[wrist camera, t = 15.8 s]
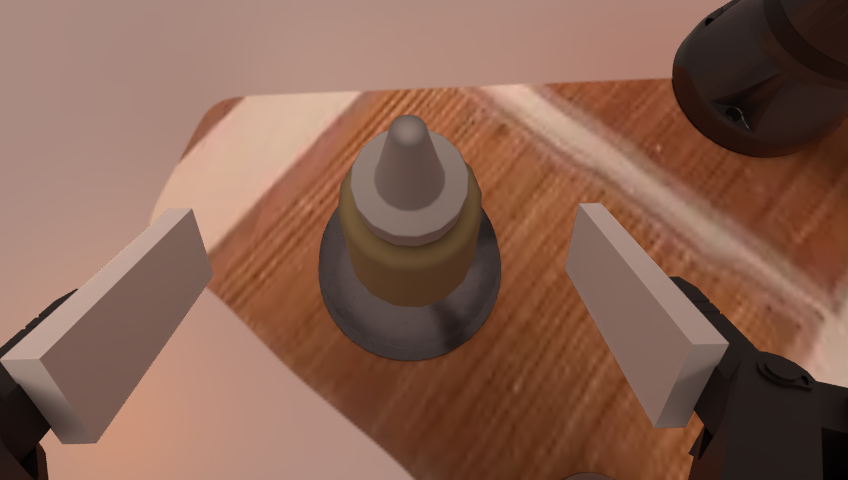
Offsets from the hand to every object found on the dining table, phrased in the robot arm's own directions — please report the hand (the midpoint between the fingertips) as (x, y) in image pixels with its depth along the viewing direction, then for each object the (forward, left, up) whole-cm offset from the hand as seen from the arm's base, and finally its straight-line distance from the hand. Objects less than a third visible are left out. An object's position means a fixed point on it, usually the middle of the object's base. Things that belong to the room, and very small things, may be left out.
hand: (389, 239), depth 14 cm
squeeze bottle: (-1, -3, -15) cm, 16 cm away
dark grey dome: (-1, -3, -20) cm, 20 cm away
